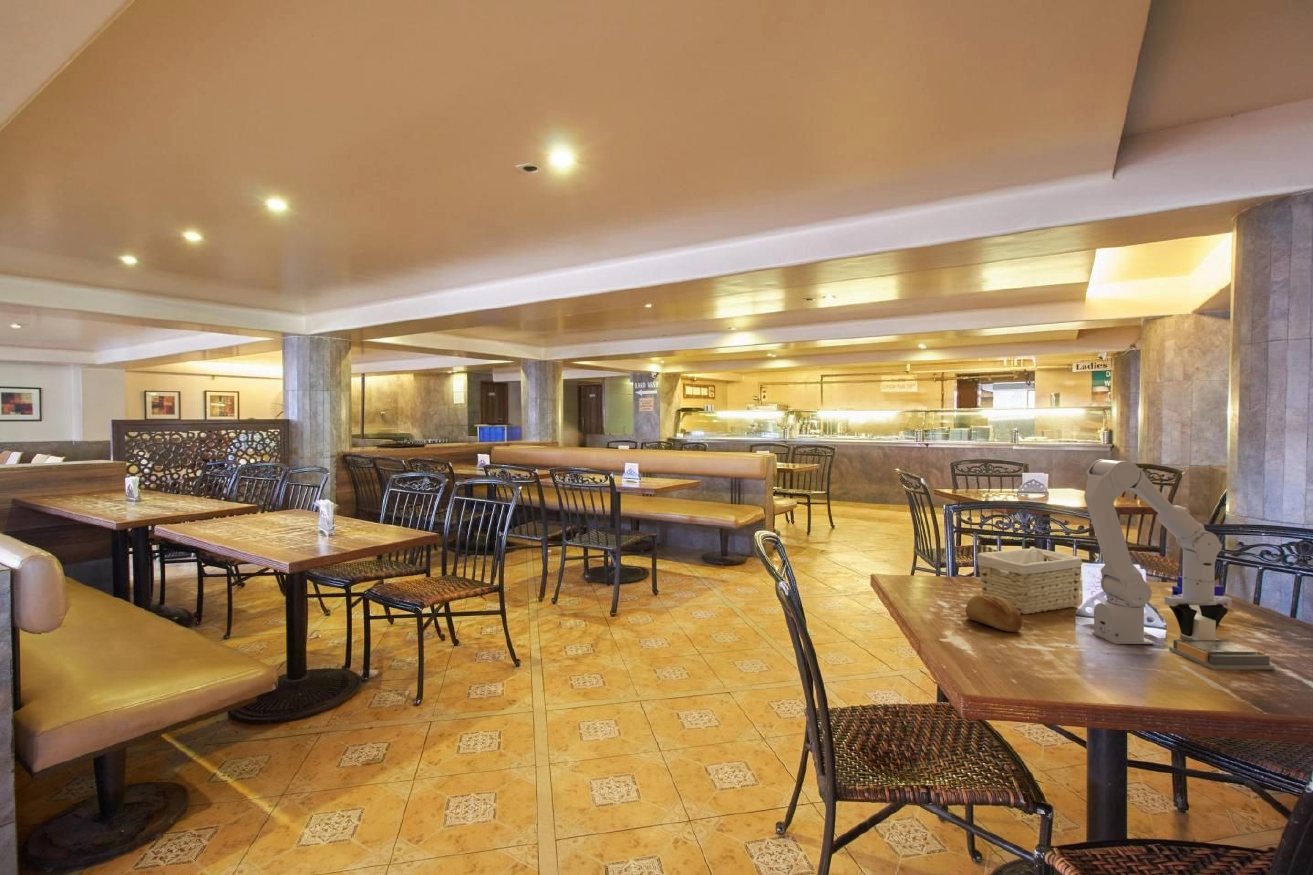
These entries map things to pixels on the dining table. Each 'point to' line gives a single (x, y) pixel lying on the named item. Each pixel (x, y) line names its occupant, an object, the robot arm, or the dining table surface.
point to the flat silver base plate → (1222, 648)
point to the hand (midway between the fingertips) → (1197, 634)
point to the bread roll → (994, 612)
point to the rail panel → (1222, 657)
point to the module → (1202, 629)
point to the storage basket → (1031, 578)
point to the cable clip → (1178, 589)
